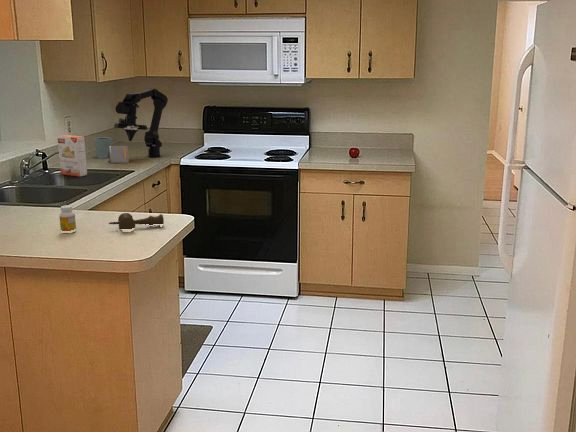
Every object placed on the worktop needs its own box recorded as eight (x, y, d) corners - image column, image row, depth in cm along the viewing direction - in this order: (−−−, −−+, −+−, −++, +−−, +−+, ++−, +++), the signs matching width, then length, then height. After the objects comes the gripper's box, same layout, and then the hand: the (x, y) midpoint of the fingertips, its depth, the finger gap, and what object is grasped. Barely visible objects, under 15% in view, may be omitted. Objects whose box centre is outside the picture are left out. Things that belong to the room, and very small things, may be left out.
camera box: (107, 162, 374) (106, 149, 372) (110, 160, 381) (109, 148, 379) (121, 162, 374) (120, 149, 372) (124, 160, 381) (123, 148, 379)
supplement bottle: (57, 232, 231) (55, 206, 228) (70, 229, 235) (68, 204, 233) (66, 235, 228) (64, 209, 225) (79, 231, 232) (77, 206, 229)
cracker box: (60, 174, 338) (56, 135, 333) (68, 172, 343) (65, 134, 338) (79, 177, 332) (76, 137, 326) (87, 175, 337) (84, 136, 331)
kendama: (165, 231, 235) (109, 234, 229) (162, 225, 244) (108, 228, 238) (164, 215, 234) (108, 218, 228) (161, 210, 243) (107, 212, 237)
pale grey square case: (110, 162, 372) (109, 146, 370) (110, 162, 374) (109, 146, 371) (128, 162, 372) (127, 146, 370) (128, 162, 374) (127, 146, 371)
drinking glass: (99, 159, 386) (97, 139, 383) (92, 157, 393) (91, 138, 390) (115, 157, 392) (113, 138, 389) (108, 155, 400) (106, 136, 397)
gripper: (139, 115, 386) (137, 141, 388) (110, 113, 374) (109, 139, 376) (148, 116, 378) (146, 142, 380) (119, 113, 365) (118, 140, 367)
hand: (130, 141), depth 376 cm, fingers closed
